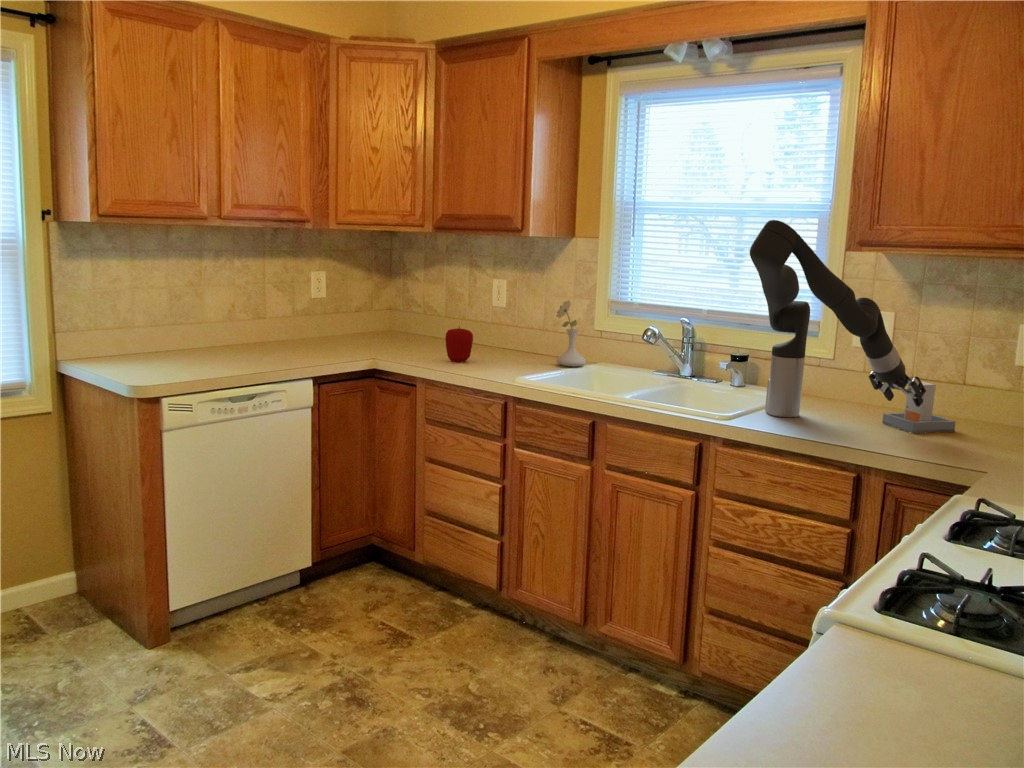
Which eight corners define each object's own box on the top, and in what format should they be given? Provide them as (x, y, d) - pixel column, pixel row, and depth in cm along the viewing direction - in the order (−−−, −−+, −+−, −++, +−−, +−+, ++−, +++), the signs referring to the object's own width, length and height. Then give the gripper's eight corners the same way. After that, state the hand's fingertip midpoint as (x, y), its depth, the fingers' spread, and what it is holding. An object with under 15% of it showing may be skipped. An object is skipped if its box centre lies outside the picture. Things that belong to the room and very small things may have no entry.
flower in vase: (572, 362, 340) (575, 298, 336) (592, 367, 332) (595, 300, 327) (546, 365, 332) (549, 299, 328) (566, 369, 324) (569, 301, 319)
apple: (474, 363, 329) (475, 327, 327) (447, 363, 327) (448, 327, 324) (469, 359, 339) (470, 324, 337) (443, 359, 337) (443, 324, 334)
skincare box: (902, 422, 247) (907, 381, 245) (914, 422, 249) (919, 380, 247) (919, 427, 242) (925, 384, 240) (931, 426, 244) (936, 384, 241)
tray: (882, 423, 249) (883, 413, 249) (922, 422, 253) (924, 412, 253) (912, 433, 238) (913, 422, 237) (954, 431, 242) (955, 421, 241)
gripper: (854, 367, 237) (875, 406, 245) (902, 375, 225) (922, 416, 233) (868, 347, 239) (889, 387, 247) (917, 354, 227) (936, 396, 235)
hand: (905, 401), depth 240 cm, fingers open, 8 cm apart
